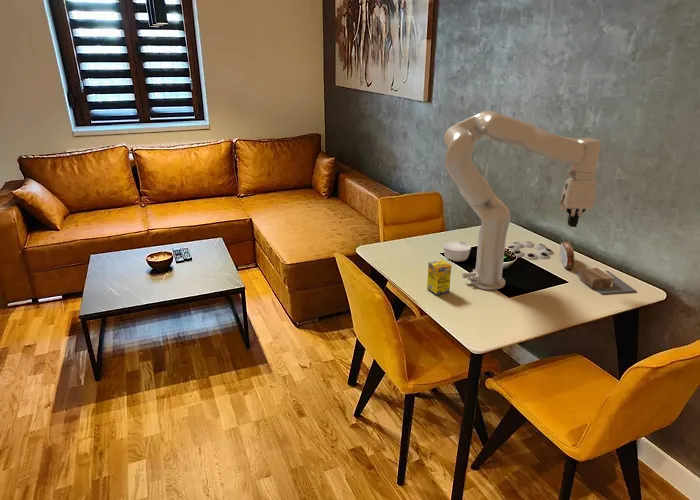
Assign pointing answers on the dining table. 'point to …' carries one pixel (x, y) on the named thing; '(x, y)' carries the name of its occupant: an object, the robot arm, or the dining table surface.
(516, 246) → the paint palette
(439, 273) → the supplement box
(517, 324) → the dining table surface
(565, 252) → the tin
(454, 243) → the ramekin
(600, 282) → the block
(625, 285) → the mat
